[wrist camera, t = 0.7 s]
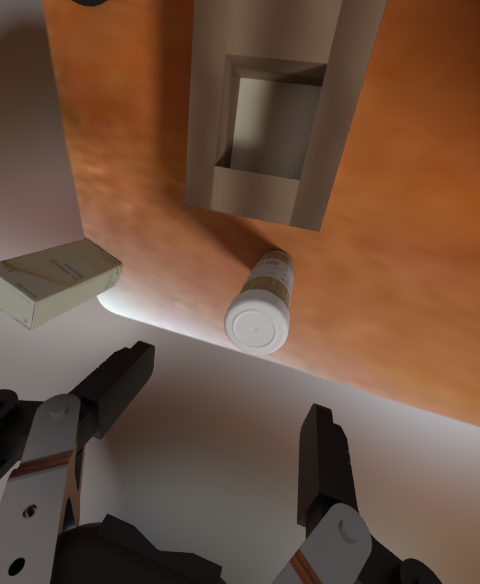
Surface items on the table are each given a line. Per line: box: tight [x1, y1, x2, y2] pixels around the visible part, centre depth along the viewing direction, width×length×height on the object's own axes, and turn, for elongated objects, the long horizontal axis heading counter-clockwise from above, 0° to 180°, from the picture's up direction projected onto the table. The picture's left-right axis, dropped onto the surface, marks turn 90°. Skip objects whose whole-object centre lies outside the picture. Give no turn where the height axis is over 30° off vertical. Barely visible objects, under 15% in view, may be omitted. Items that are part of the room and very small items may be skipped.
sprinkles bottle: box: [224, 250, 295, 355], centre depth 23 cm, size 5×4×13 cm
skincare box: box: [0, 239, 122, 331], centre depth 29 cm, size 6×4×12 cm
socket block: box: [184, 0, 387, 232], centre depth 21 cm, size 12×14×6 cm
